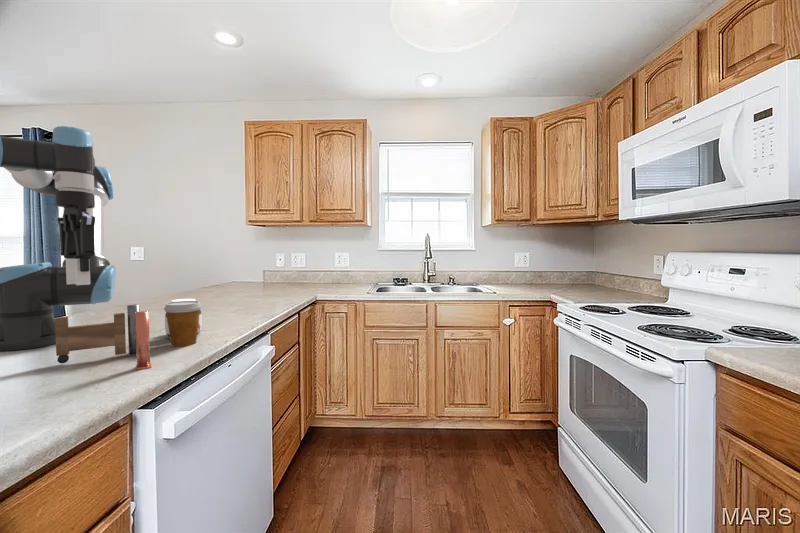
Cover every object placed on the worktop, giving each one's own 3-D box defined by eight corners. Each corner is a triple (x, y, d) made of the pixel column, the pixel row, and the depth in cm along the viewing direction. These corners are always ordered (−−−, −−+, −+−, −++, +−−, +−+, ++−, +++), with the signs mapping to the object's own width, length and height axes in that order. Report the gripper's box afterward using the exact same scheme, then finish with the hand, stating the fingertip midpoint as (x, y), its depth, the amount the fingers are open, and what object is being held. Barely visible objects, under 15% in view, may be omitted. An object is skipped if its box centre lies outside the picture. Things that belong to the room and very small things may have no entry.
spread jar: (182, 341, 113) (181, 302, 113) (150, 339, 116) (149, 301, 115) (210, 332, 125) (209, 297, 125) (180, 331, 127) (179, 296, 127)
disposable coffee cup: (192, 338, 117) (191, 299, 116) (208, 342, 111) (207, 302, 111) (158, 344, 109) (157, 303, 109) (174, 349, 104) (173, 306, 103)
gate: (57, 362, 91) (55, 317, 90) (125, 353, 99) (124, 311, 98) (56, 364, 89) (54, 318, 88) (126, 355, 97) (124, 313, 96)
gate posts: (128, 354, 99) (126, 305, 99) (145, 351, 102) (144, 303, 101) (131, 370, 86) (129, 313, 85) (151, 367, 88) (149, 312, 88)
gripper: (40, 191, 96) (43, 283, 97) (73, 186, 88) (77, 287, 89) (76, 195, 102) (79, 281, 103) (110, 191, 94) (113, 284, 95)
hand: (78, 284), depth 96 cm, fingers open, 4 cm apart
